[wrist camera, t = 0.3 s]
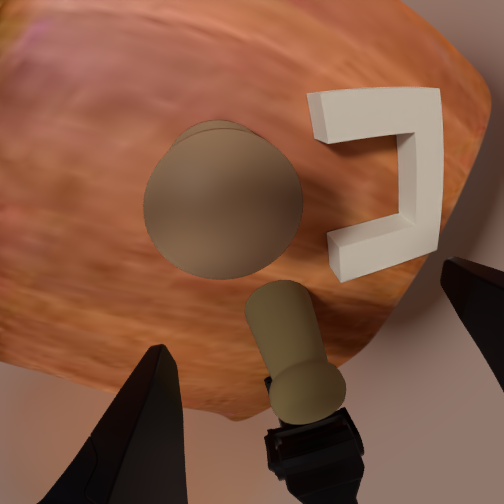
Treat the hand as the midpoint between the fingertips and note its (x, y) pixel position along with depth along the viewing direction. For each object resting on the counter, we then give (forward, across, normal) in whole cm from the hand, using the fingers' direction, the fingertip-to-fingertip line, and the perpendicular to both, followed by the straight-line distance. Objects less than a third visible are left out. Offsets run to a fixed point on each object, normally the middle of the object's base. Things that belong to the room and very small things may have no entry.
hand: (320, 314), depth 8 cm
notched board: (+14, -10, +1) cm, 17 cm away
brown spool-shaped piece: (+14, +2, -2) cm, 14 cm away
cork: (+14, 0, +11) cm, 18 cm away
